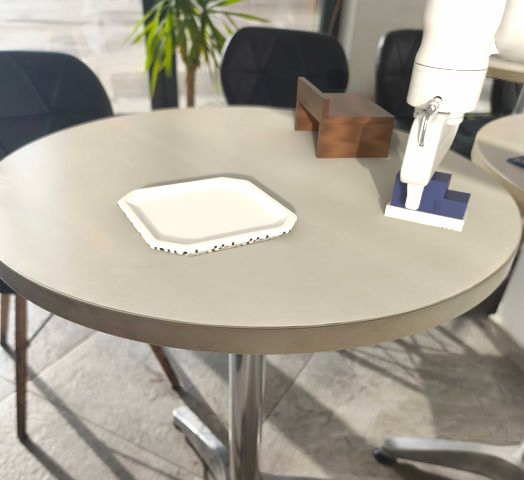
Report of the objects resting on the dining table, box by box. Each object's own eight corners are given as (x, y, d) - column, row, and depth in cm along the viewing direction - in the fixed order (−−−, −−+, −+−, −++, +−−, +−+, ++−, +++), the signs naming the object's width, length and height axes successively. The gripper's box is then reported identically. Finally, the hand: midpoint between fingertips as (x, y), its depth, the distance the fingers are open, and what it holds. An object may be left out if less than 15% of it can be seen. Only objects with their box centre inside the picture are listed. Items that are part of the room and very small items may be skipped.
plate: (309, 239, 66) (310, 224, 64) (160, 272, 58) (158, 255, 56) (240, 187, 80) (240, 173, 78) (112, 207, 72) (110, 192, 70)
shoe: (465, 220, 73) (478, 178, 69) (460, 231, 69) (474, 188, 66) (391, 205, 76) (400, 164, 72) (384, 215, 73) (392, 173, 69)
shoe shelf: (355, 128, 110) (362, 77, 104) (387, 157, 95) (398, 98, 89) (294, 129, 108) (298, 76, 102) (317, 158, 93) (323, 98, 87)
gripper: (458, 110, 54) (427, 227, 63) (478, 81, 69) (451, 179, 78) (401, 102, 56) (379, 217, 65) (433, 75, 71) (411, 172, 80)
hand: (418, 196), depth 71 cm, fingers open, 8 cm apart
